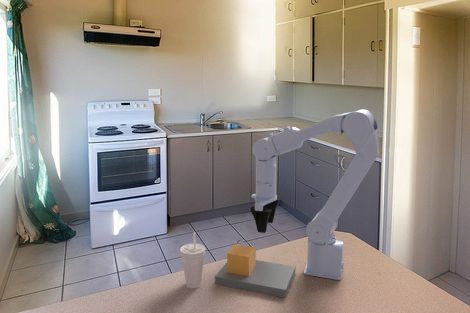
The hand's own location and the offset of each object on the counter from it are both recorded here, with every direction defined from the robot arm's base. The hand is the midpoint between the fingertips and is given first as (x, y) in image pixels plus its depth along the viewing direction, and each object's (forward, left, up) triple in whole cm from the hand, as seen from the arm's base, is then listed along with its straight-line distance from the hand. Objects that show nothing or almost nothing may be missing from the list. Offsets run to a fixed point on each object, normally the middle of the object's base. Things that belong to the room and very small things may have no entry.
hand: (265, 227), depth 105 cm
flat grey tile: (-1, +12, -9) cm, 15 cm away
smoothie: (+13, +20, -10) cm, 26 cm away
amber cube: (+3, +12, -7) cm, 14 cm away
